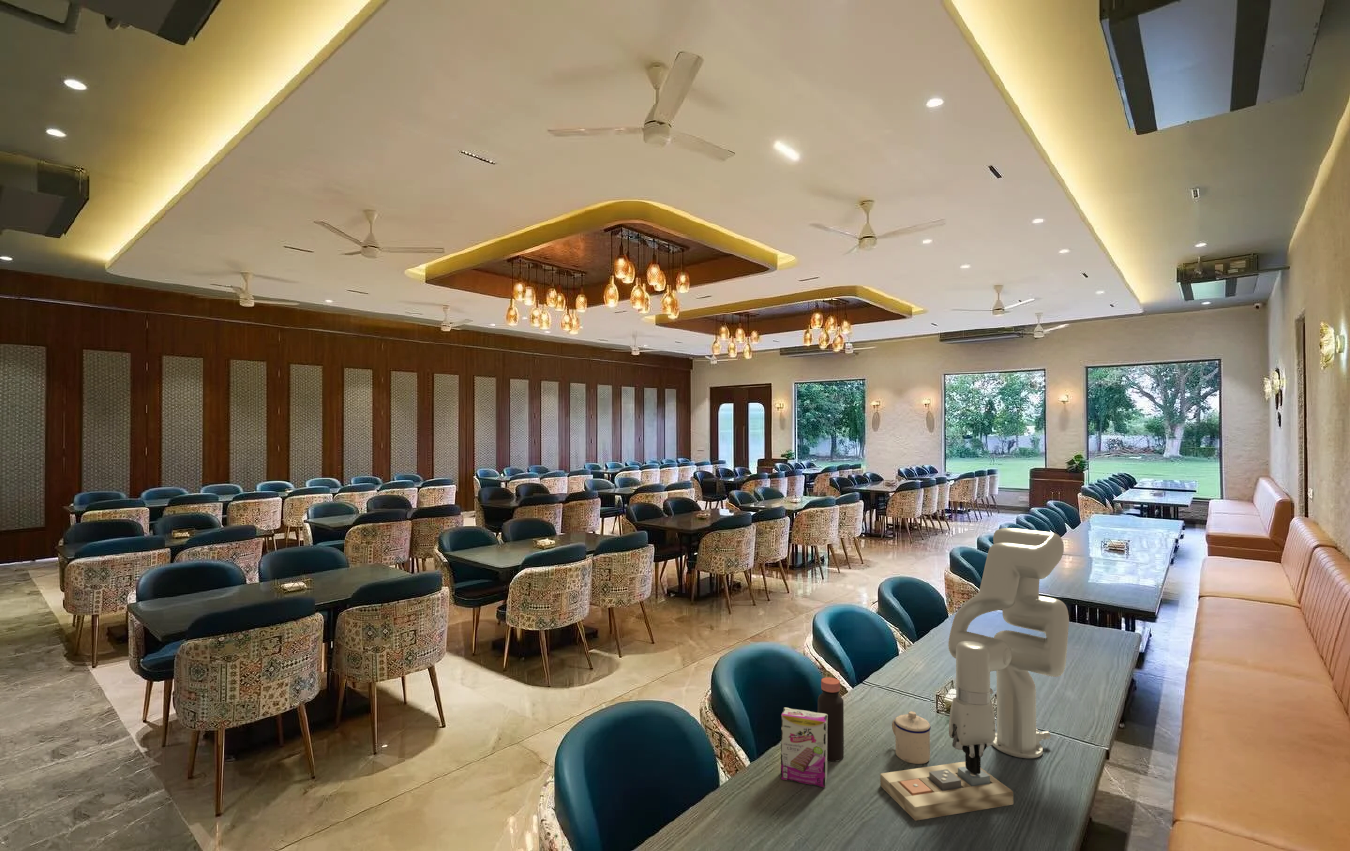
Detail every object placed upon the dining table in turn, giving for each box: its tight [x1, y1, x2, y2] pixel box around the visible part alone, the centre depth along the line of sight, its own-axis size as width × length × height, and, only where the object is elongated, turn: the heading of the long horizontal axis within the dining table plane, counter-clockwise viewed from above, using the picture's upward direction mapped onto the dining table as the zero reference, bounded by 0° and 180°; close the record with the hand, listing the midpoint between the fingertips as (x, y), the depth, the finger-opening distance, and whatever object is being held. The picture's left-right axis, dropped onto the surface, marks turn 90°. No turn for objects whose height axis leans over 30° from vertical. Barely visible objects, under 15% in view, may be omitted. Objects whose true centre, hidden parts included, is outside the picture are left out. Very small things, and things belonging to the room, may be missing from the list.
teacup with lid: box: [891, 711, 932, 765], centre depth 167 cm, size 12×9×12 cm
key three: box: [929, 769, 961, 791], centre depth 147 cm, size 5×5×3 cm
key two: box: [958, 767, 990, 786], centre depth 149 cm, size 5×5×3 cm
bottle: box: [817, 676, 845, 762], centre depth 166 cm, size 7×7×20 cm
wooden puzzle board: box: [879, 761, 1014, 822], centre depth 147 cm, size 26×14×3 cm, turn 103°
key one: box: [900, 779, 932, 796], centre depth 146 cm, size 5×5×3 cm
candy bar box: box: [780, 707, 828, 788], centre depth 154 cm, size 11×5×16 cm, turn 71°
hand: (972, 770), depth 149 cm, fingers closed
